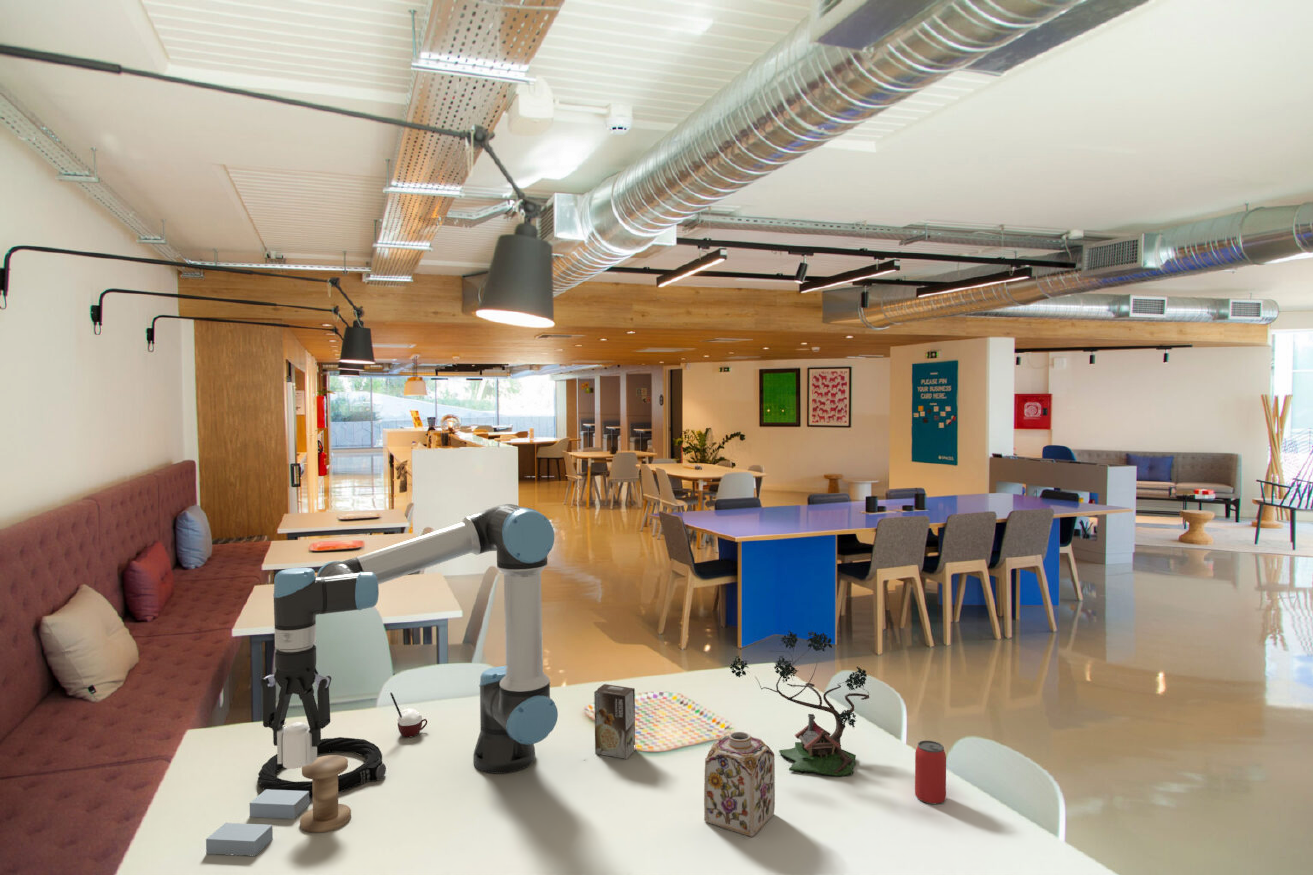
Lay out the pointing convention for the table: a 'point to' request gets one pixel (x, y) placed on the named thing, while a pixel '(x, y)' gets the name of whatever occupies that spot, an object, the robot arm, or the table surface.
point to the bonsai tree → (816, 742)
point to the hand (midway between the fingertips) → (297, 760)
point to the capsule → (295, 746)
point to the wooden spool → (325, 795)
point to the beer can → (930, 772)
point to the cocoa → (409, 721)
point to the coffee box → (614, 721)
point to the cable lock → (345, 781)
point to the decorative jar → (739, 783)
